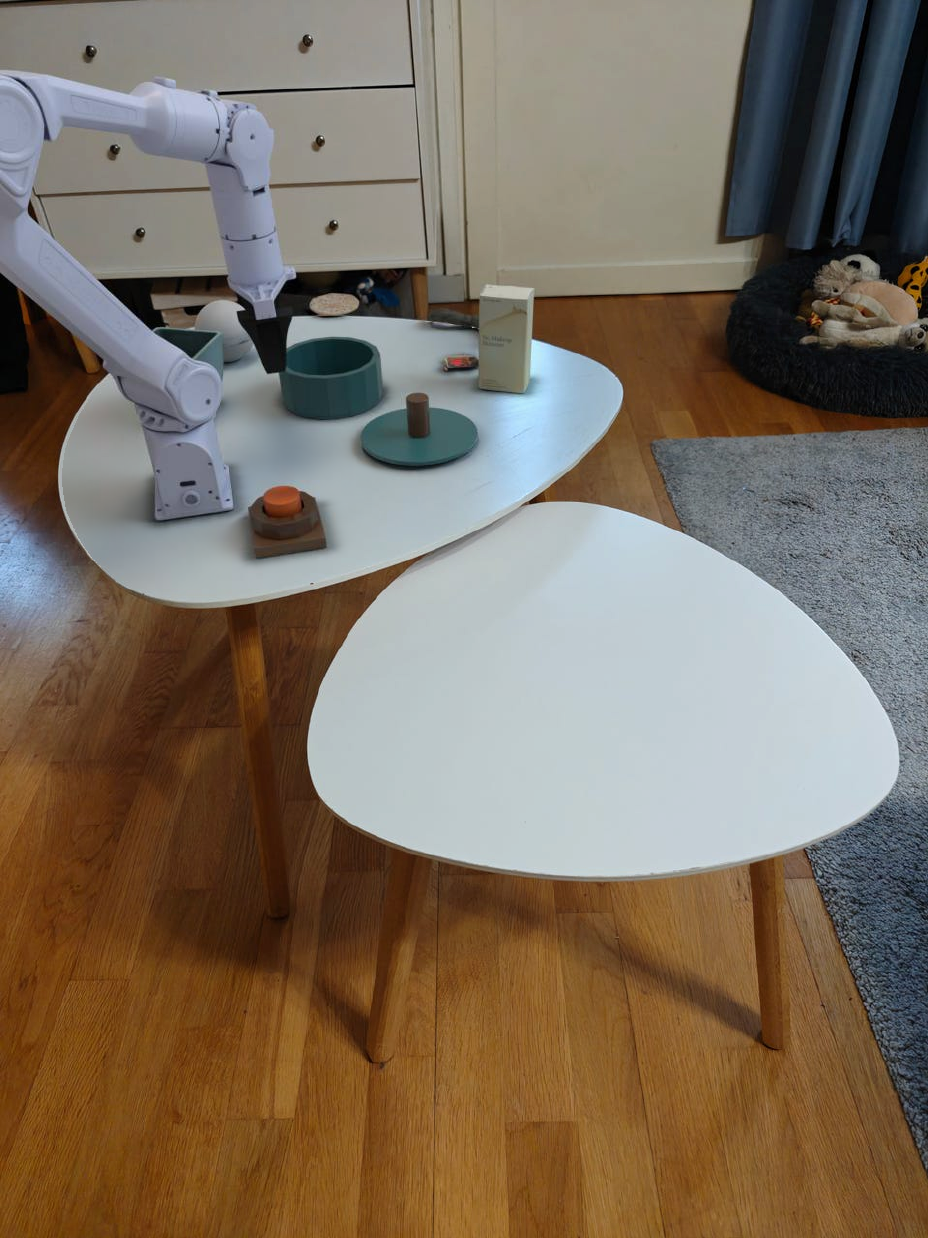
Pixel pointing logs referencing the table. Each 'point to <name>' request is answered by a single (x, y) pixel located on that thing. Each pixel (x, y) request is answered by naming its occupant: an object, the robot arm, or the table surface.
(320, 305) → the flatbread
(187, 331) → the flower pot
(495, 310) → the cosmetic box
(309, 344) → the tin
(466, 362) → the matchbox
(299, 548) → the button block
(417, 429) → the tin lid
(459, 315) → the toy
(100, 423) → the table surface
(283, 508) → the button
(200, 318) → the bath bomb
